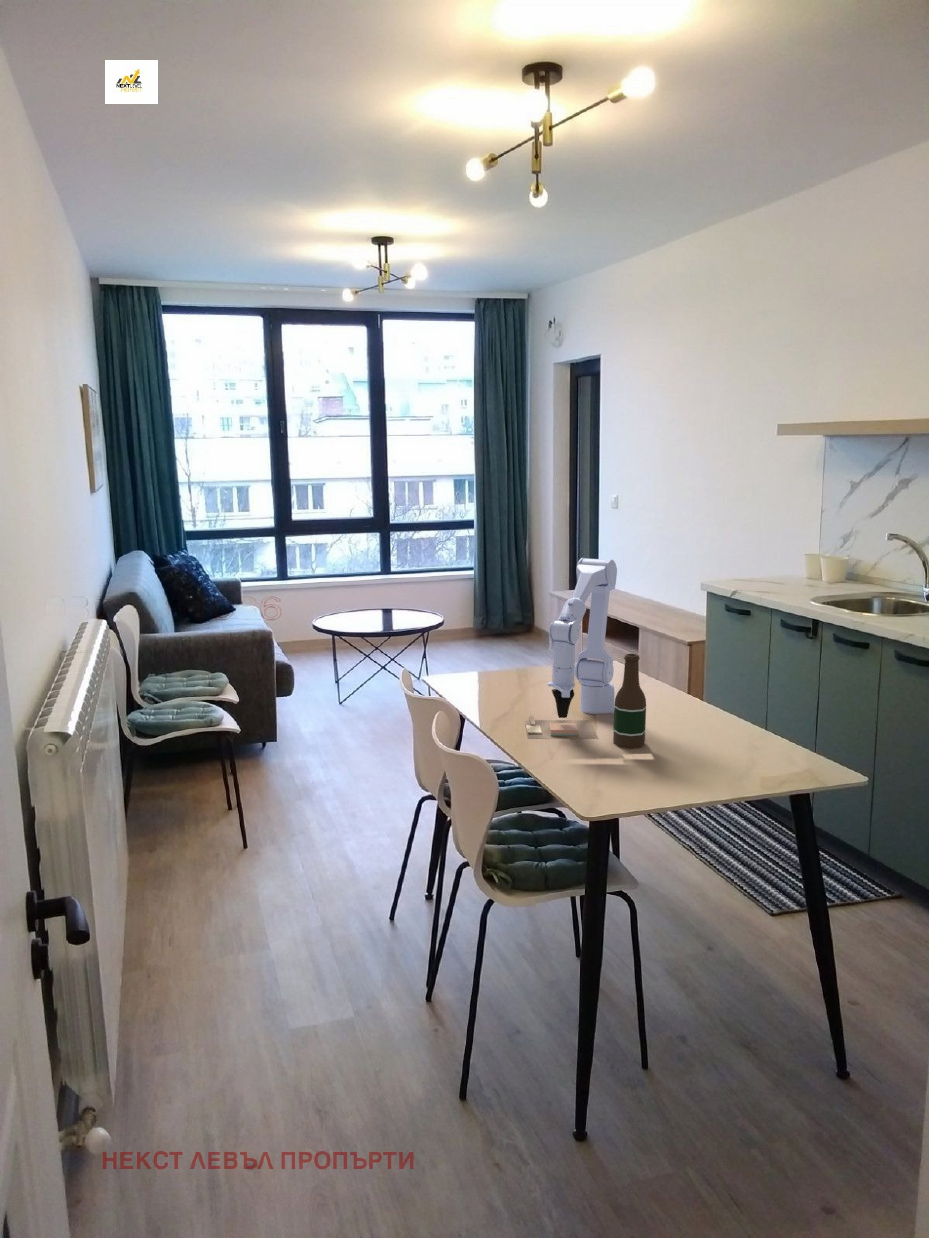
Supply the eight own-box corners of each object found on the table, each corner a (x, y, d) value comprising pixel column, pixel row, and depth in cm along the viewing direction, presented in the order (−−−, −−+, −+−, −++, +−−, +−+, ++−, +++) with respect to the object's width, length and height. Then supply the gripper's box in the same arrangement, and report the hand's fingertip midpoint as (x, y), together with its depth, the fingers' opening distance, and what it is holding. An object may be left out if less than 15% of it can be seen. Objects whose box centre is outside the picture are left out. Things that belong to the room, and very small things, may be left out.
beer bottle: (606, 747, 224) (609, 654, 219) (626, 741, 229) (629, 649, 224) (630, 755, 218) (634, 659, 213) (651, 749, 223) (654, 655, 218)
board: (590, 724, 243) (590, 720, 243) (598, 743, 227) (598, 738, 227) (524, 724, 243) (524, 720, 243) (527, 742, 227) (527, 738, 227)
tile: (575, 723, 235) (578, 729, 229) (575, 728, 235) (577, 735, 229) (548, 722, 235) (550, 729, 229) (548, 728, 235) (550, 735, 229)
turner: (537, 718, 244) (537, 715, 244) (541, 734, 231) (541, 731, 230) (524, 718, 244) (524, 715, 244) (527, 734, 231) (527, 731, 230)
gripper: (545, 660, 239) (544, 709, 241) (550, 673, 224) (549, 725, 227) (572, 660, 238) (571, 709, 241) (578, 673, 224) (577, 725, 227)
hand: (562, 717), depth 234 cm, fingers closed
